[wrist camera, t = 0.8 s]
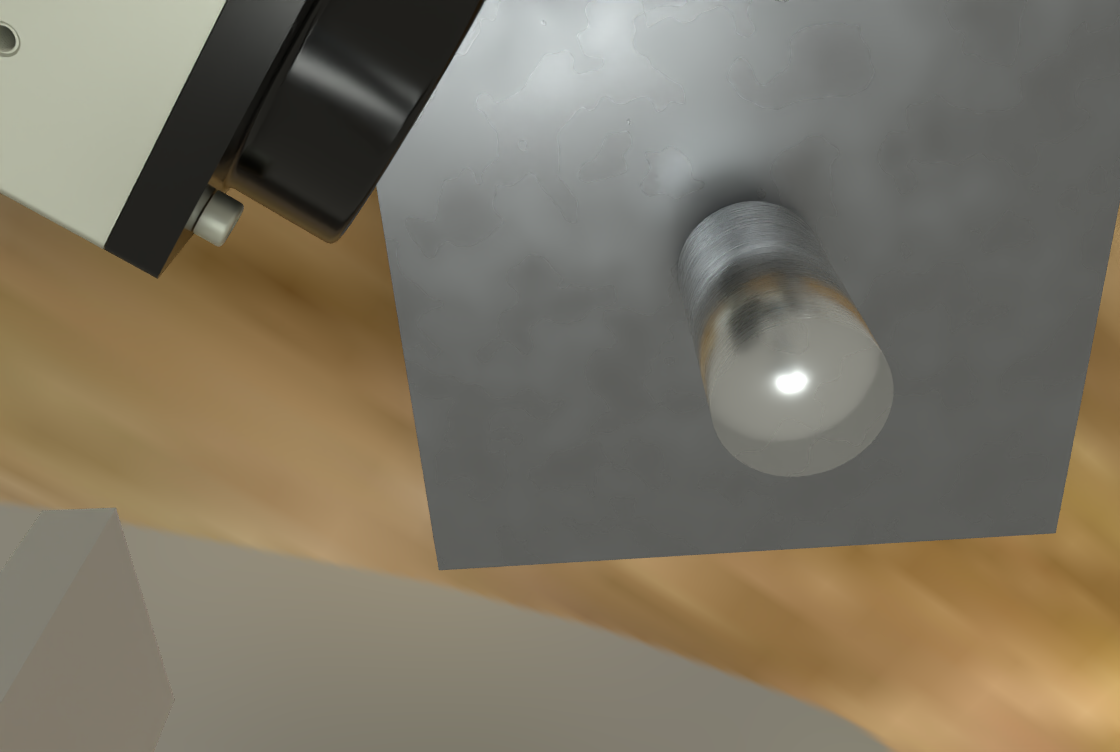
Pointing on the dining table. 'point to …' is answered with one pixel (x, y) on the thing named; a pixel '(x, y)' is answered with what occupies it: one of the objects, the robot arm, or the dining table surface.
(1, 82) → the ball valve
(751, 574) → the dining table surface
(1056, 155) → the grey metal plate
